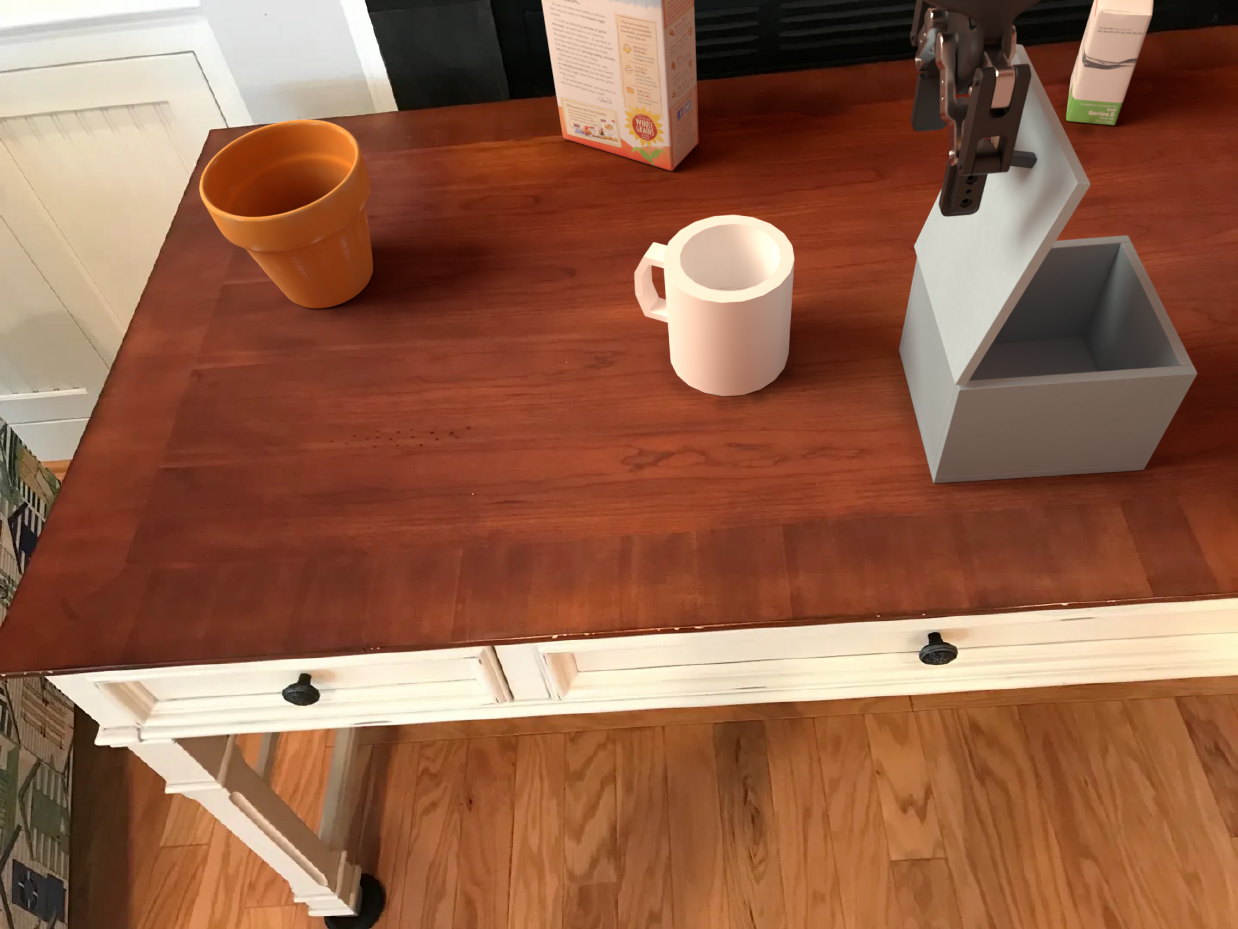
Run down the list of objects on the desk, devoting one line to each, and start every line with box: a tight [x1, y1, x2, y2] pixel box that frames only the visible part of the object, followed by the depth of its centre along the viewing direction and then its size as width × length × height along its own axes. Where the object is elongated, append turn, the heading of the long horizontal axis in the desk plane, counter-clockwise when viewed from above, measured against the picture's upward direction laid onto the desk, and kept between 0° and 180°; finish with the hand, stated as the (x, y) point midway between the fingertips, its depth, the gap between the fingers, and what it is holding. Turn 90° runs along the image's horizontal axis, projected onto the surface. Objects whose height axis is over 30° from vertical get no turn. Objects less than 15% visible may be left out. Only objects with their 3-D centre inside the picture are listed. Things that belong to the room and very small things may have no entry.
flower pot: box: [198, 119, 374, 309], centre depth 91 cm, size 14×14×13 cm
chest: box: [898, 234, 1198, 484], centre depth 74 cm, size 16×14×11 cm
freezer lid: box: [913, 43, 1092, 386], centre depth 63 cm, size 16×14×5 cm
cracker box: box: [541, 0, 700, 172], centre depth 96 cm, size 14×6×21 cm, turn 57°
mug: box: [633, 214, 795, 397], centre depth 81 cm, size 14×10×11 cm
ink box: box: [1065, 0, 1154, 126], centre depth 97 cm, size 9×5×12 cm, turn 160°
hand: (941, 167), depth 60 cm, fingers open, 8 cm apart
